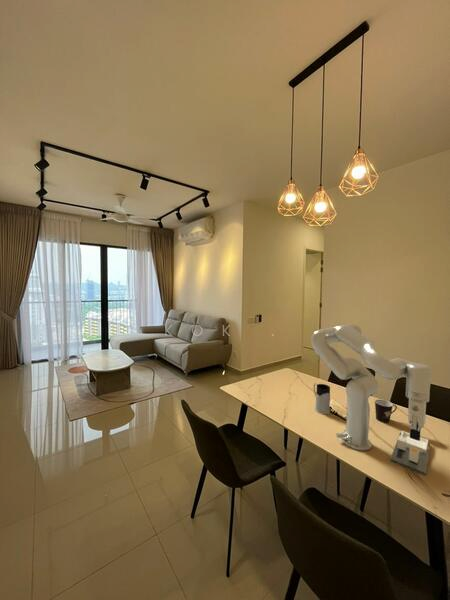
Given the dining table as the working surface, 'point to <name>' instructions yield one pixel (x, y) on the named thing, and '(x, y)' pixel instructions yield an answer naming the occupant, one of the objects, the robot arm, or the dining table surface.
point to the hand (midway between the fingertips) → (414, 438)
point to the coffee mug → (383, 410)
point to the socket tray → (416, 442)
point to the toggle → (402, 443)
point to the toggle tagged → (414, 454)
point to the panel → (403, 460)
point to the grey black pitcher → (322, 398)
